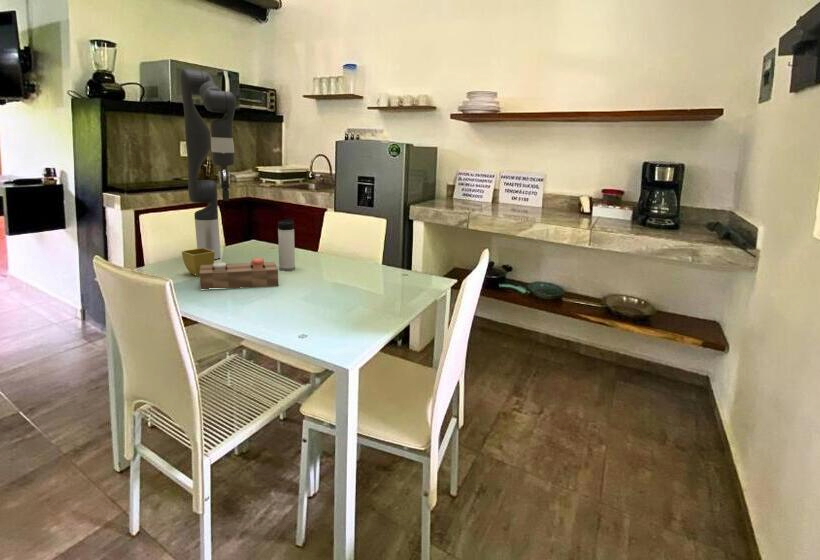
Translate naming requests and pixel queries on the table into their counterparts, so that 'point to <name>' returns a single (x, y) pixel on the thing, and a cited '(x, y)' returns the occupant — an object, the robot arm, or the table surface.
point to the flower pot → (197, 259)
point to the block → (239, 276)
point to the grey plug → (219, 265)
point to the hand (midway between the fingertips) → (226, 200)
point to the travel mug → (286, 245)
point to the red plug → (257, 262)
